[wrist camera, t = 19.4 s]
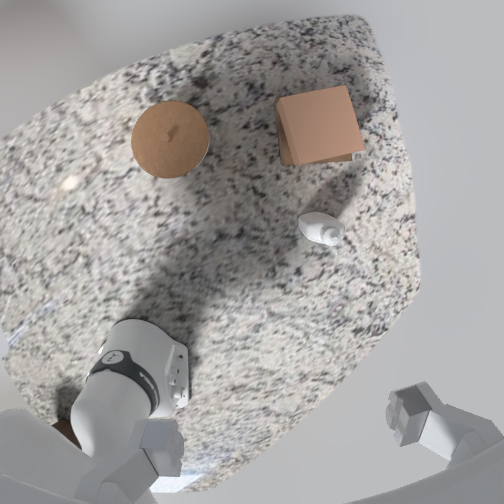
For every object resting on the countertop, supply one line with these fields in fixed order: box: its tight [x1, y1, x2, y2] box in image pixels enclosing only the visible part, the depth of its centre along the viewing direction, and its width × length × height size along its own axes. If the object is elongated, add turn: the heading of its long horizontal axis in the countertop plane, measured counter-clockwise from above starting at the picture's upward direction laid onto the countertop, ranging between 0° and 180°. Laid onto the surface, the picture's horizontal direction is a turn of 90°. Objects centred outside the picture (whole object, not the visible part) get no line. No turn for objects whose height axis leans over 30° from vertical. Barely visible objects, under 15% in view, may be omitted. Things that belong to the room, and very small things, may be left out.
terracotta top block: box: [276, 85, 365, 165], centre depth 39 cm, size 9×9×5 cm
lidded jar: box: [131, 101, 210, 178], centre depth 41 cm, size 11×11×9 cm
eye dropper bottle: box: [298, 212, 345, 246], centre depth 44 cm, size 4×6×12 cm
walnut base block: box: [274, 97, 352, 166], centre depth 43 cm, size 10×10×5 cm
